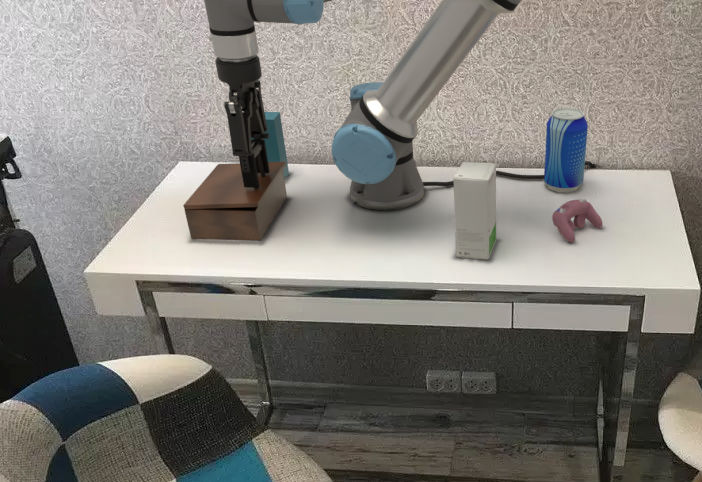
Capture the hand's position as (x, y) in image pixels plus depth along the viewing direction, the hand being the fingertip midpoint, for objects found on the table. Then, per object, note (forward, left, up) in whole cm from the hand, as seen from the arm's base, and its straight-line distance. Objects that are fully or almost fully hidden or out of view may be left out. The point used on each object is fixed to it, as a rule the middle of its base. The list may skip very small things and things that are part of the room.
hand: (257, 179), depth 151 cm
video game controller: (-62, +1, -9) cm, 62 cm away
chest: (+4, 0, -9) cm, 10 cm away
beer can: (-60, -20, -9) cm, 63 cm away
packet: (+5, -20, -9) cm, 22 cm away
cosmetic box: (-43, +9, -9) cm, 44 cm away
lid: (+4, 0, -2) cm, 4 cm away
